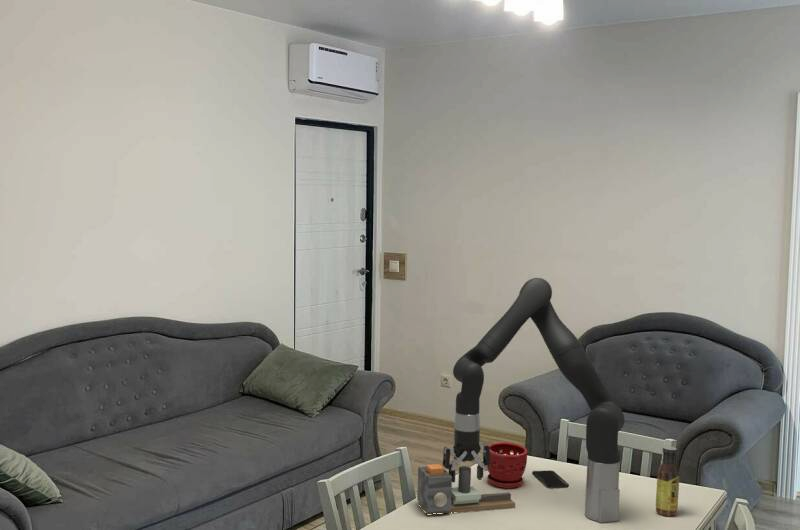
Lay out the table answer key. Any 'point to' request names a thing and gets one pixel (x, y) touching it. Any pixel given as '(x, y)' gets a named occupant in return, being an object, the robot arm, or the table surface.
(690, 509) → the table surface
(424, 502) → the rail
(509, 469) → the plant pot
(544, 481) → the phone
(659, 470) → the sauce bottle
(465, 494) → the mint plate with knob
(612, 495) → the robot arm
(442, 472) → the button
